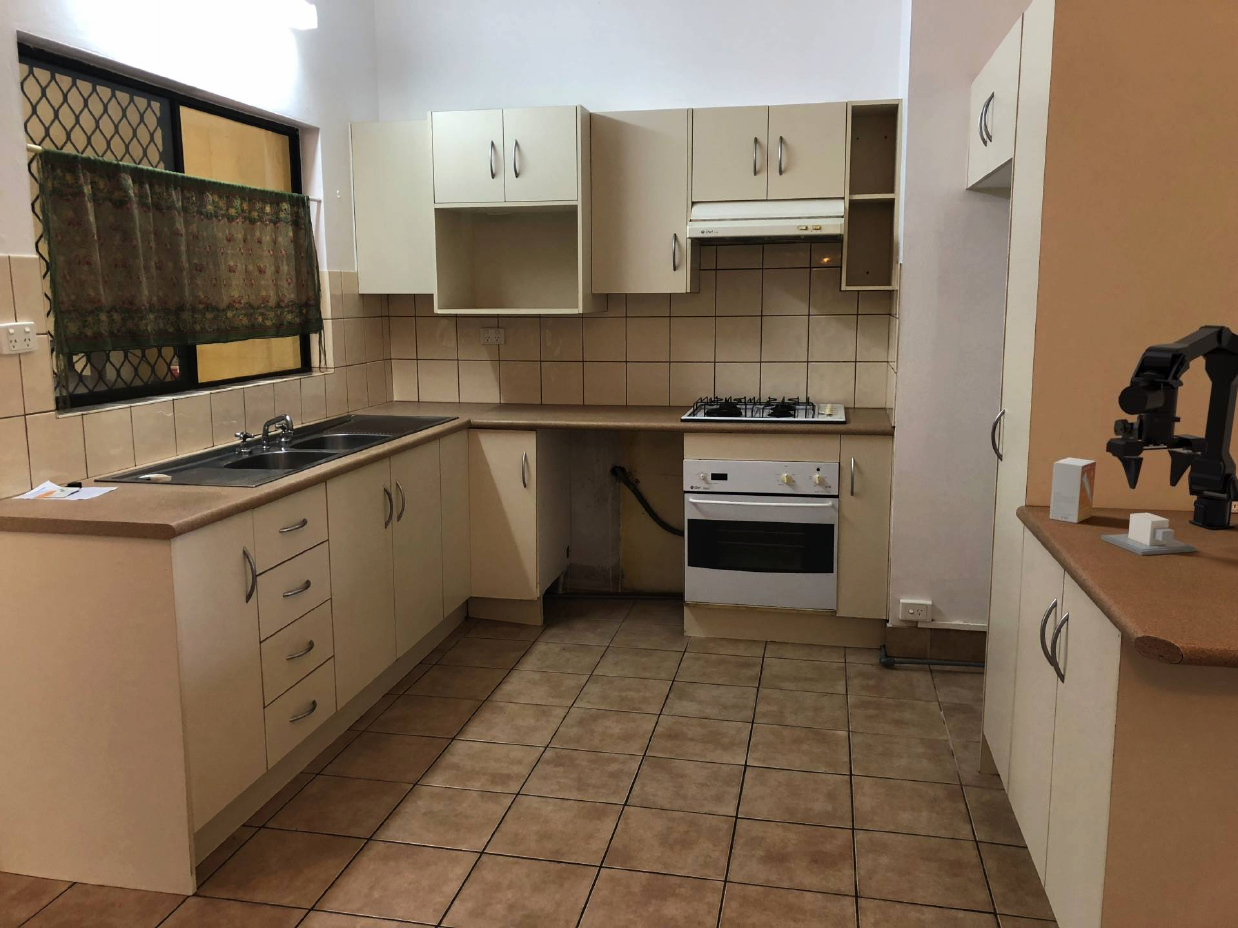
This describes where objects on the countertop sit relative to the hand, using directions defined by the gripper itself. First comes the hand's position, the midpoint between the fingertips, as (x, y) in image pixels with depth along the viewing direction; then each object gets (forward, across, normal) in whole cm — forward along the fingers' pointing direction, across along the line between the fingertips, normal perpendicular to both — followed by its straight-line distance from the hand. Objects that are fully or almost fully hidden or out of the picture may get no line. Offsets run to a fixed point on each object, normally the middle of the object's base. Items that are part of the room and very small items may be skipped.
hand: (1152, 487), depth 198 cm
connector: (+11, 0, +1) cm, 11 cm away
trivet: (+12, 0, 0) cm, 12 cm away
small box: (+12, +1, -23) cm, 26 cm away
